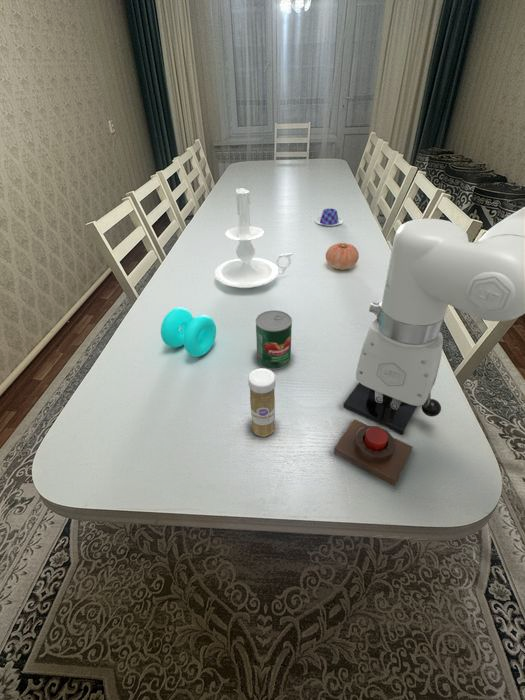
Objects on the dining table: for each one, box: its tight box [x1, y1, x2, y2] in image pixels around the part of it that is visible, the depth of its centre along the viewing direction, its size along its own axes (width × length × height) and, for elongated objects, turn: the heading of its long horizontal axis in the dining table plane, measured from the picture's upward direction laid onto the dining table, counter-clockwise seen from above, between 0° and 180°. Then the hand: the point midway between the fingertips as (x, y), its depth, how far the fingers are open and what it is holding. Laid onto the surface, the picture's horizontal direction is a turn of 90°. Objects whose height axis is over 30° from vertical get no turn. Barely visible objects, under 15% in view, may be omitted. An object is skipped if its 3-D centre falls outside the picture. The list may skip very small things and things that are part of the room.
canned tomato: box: [255, 310, 293, 371], centre depth 81 cm, size 8×8×11 cm
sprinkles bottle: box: [248, 367, 276, 438], centre depth 64 cm, size 5×5×14 cm
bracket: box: [343, 382, 418, 435], centre depth 68 cm, size 12×9×12 cm
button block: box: [333, 418, 413, 487], centre depth 62 cm, size 11×8×4 cm
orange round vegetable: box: [325, 242, 360, 271], centre depth 119 cm, size 11×11×8 cm
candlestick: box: [213, 187, 293, 289], centre depth 107 cm, size 21×25×28 cm
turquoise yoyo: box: [160, 306, 217, 358], centre depth 85 cm, size 10×10×10 cm
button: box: [364, 427, 388, 451], centre depth 61 cm, size 4×4×2 cm
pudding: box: [314, 208, 344, 227], centre depth 154 cm, size 12×12×5 cm
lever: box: [421, 398, 442, 418], centre depth 65 cm, size 13×3×3 cm
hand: (384, 417), depth 57 cm, fingers closed
